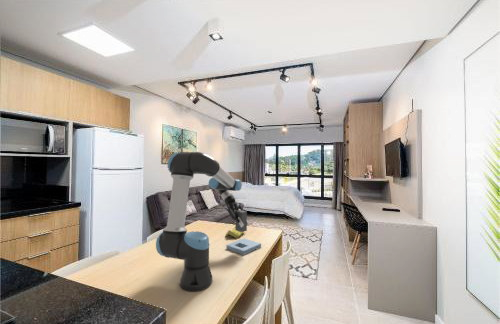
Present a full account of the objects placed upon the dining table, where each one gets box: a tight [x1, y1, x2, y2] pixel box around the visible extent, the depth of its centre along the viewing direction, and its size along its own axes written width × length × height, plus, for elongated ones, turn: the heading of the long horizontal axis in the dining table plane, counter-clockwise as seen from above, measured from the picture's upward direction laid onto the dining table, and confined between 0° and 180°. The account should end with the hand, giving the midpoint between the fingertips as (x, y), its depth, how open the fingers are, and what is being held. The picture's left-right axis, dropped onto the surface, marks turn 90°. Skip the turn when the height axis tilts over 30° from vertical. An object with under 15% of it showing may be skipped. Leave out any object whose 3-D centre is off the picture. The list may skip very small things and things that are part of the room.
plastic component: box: [225, 225, 244, 239], centre depth 180 cm, size 20×7×10 cm
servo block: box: [234, 209, 248, 233], centre depth 148 cm, size 4×6×14 cm
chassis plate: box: [225, 238, 262, 256], centre depth 150 cm, size 18×16×2 cm
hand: (245, 225), depth 146 cm, fingers closed on servo block, 4 cm apart
